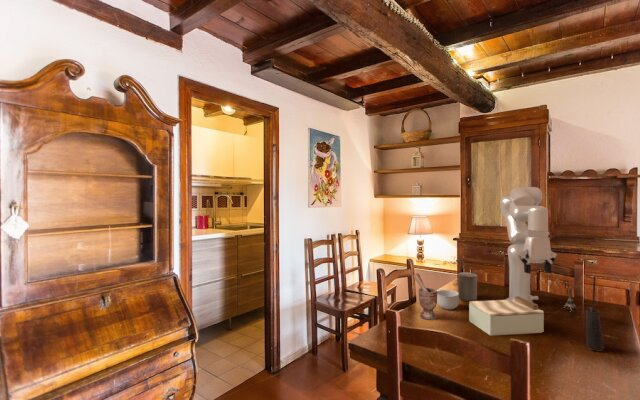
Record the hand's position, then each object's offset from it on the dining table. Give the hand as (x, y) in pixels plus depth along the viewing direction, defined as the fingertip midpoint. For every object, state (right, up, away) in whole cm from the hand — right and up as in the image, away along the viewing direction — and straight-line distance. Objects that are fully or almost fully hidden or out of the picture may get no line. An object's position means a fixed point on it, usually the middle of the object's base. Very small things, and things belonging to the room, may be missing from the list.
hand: (537, 272), depth 150 cm
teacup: (-31, -23, +25) cm, 46 cm away
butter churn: (+7, -24, -22) cm, 33 cm away
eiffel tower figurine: (+30, -24, +20) cm, 43 cm away
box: (-15, -24, -1) cm, 28 cm away
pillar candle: (-15, -23, +38) cm, 47 cm away
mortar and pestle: (-47, -24, +11) cm, 54 cm away
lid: (-15, -15, -2) cm, 22 cm away
